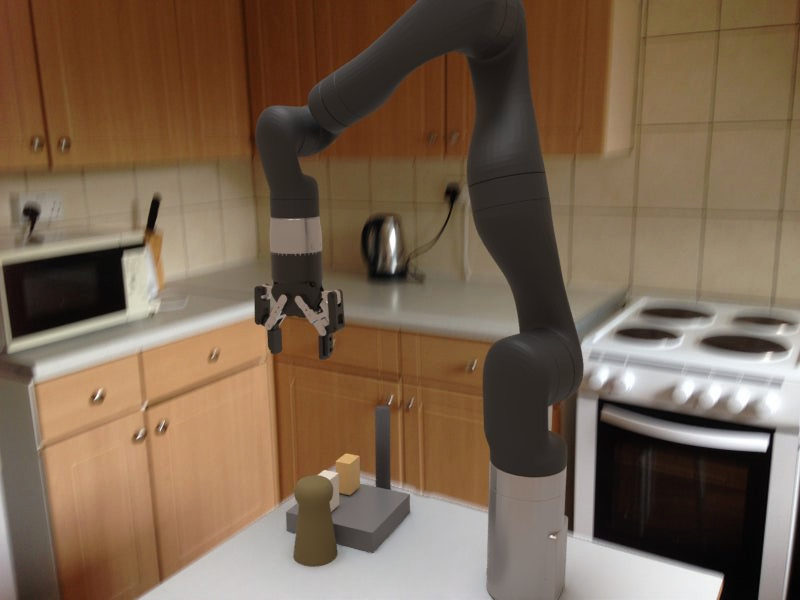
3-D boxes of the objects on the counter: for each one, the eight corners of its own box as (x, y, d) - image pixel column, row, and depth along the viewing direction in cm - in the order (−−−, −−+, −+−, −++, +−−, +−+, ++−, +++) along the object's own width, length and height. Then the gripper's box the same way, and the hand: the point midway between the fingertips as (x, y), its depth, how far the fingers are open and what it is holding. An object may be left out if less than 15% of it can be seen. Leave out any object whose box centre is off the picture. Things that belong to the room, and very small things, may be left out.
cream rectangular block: (339, 504, 107) (338, 472, 106) (328, 514, 104) (327, 481, 103) (325, 501, 108) (324, 469, 107) (313, 511, 105) (312, 478, 104)
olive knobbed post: (341, 543, 103) (339, 470, 100) (333, 567, 97) (331, 490, 94) (299, 541, 103) (296, 468, 101) (288, 565, 97) (285, 488, 95)
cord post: (393, 488, 119) (392, 406, 116) (386, 494, 117) (386, 411, 114) (379, 485, 120) (379, 404, 117) (373, 491, 118) (372, 409, 115)
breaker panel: (409, 512, 111) (409, 494, 111) (372, 552, 100) (372, 532, 100) (330, 494, 117) (329, 477, 116) (286, 530, 106) (285, 511, 105)
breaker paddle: (360, 486, 113) (359, 456, 112) (350, 495, 110) (349, 464, 109) (346, 483, 114) (345, 453, 113) (336, 492, 111) (335, 461, 110)
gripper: (351, 247, 107) (354, 354, 110) (269, 242, 112) (273, 345, 116) (326, 253, 100) (329, 368, 103) (240, 248, 106) (245, 357, 109)
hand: (300, 355), depth 109 cm, fingers open, 8 cm apart
